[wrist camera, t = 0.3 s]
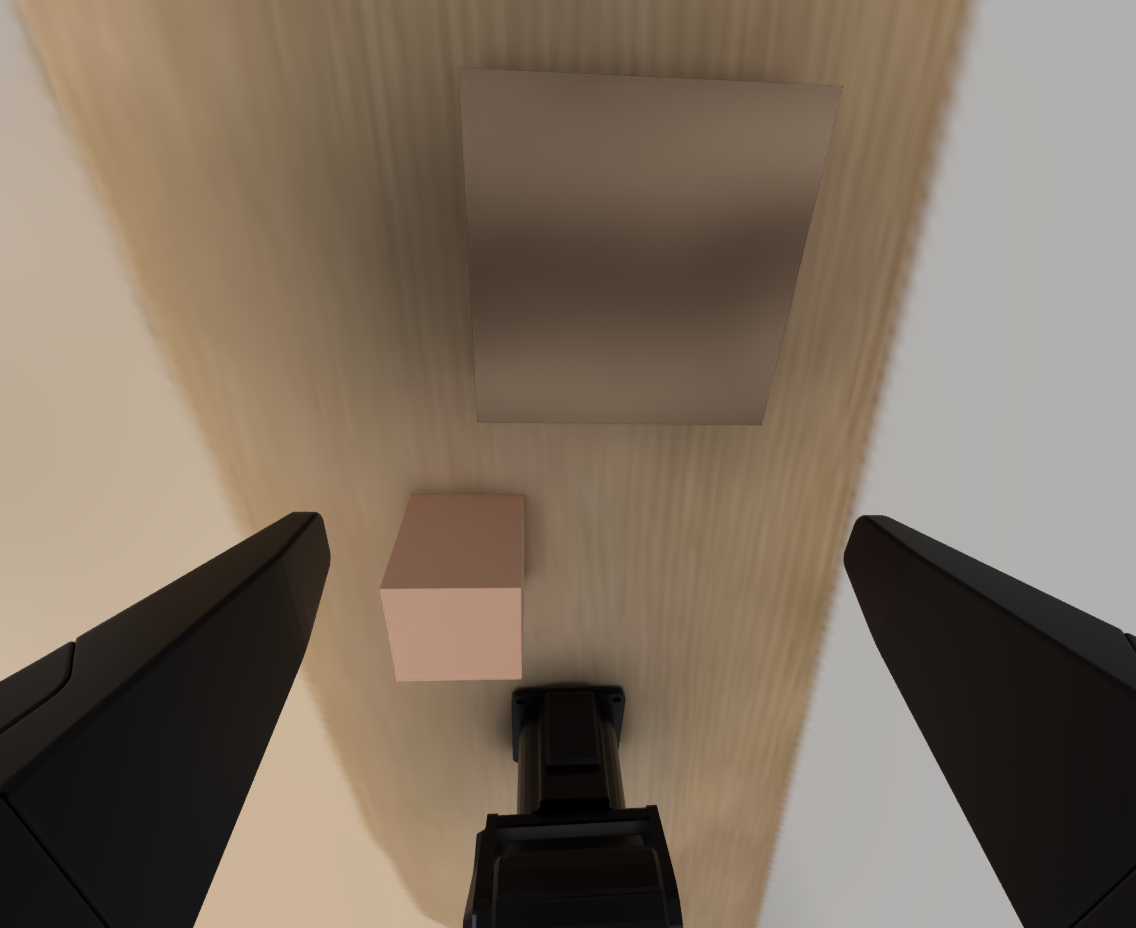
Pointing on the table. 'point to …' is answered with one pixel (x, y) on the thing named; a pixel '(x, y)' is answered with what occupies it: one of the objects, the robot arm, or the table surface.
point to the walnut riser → (634, 241)
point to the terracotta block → (457, 589)
